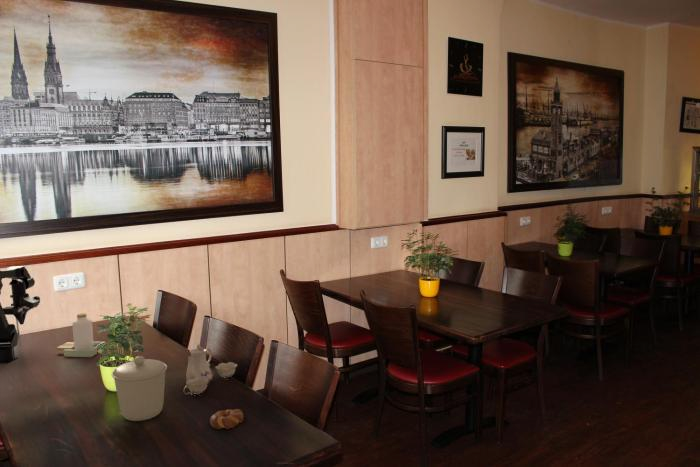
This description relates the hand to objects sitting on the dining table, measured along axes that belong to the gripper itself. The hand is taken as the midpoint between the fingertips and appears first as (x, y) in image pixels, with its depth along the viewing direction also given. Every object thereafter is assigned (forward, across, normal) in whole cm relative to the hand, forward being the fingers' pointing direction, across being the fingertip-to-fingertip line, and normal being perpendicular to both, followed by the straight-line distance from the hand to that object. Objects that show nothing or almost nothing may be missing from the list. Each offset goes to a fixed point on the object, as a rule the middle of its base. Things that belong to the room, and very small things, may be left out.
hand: (21, 324), depth 271 cm
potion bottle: (+12, -2, -32) cm, 35 cm away
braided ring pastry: (+12, -64, -125) cm, 141 cm away
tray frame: (+12, -2, -33) cm, 35 cm away
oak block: (+12, -2, -25) cm, 28 cm away
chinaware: (+12, -34, -105) cm, 111 cm away
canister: (+12, -62, -94) cm, 113 cm away
